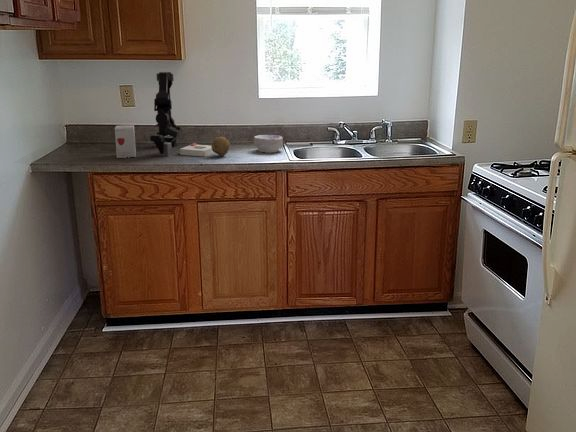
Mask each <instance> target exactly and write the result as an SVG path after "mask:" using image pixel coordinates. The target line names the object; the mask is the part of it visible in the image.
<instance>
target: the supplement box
mask: <svg viewBox="0 0 576 432" xmlns="http://www.w3.org/2000/svg"><path fill="white" fill-rule="evenodd" d="M135 134H136V132H135V125H134V124H133V125H127V124H126V125H115V127H114V137H115V150H116V159H123V158H124V159H126V158H127V157H128V158H127V159H129V158H130V157H135V158H136V156H137V151H136V136H135Z"/></svg>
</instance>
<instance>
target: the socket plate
mask: <svg viewBox="0 0 576 432" xmlns="http://www.w3.org/2000/svg"><path fill="white" fill-rule="evenodd" d="M213 154H216V153H215V152H213V151H212V145H205V144H198V143H195V142H193V143H191V144H189V145H186V146H184V147H182V148H179V155H181V156H191V157H192V156H194V157H207V156H210V155H213Z"/></svg>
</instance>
